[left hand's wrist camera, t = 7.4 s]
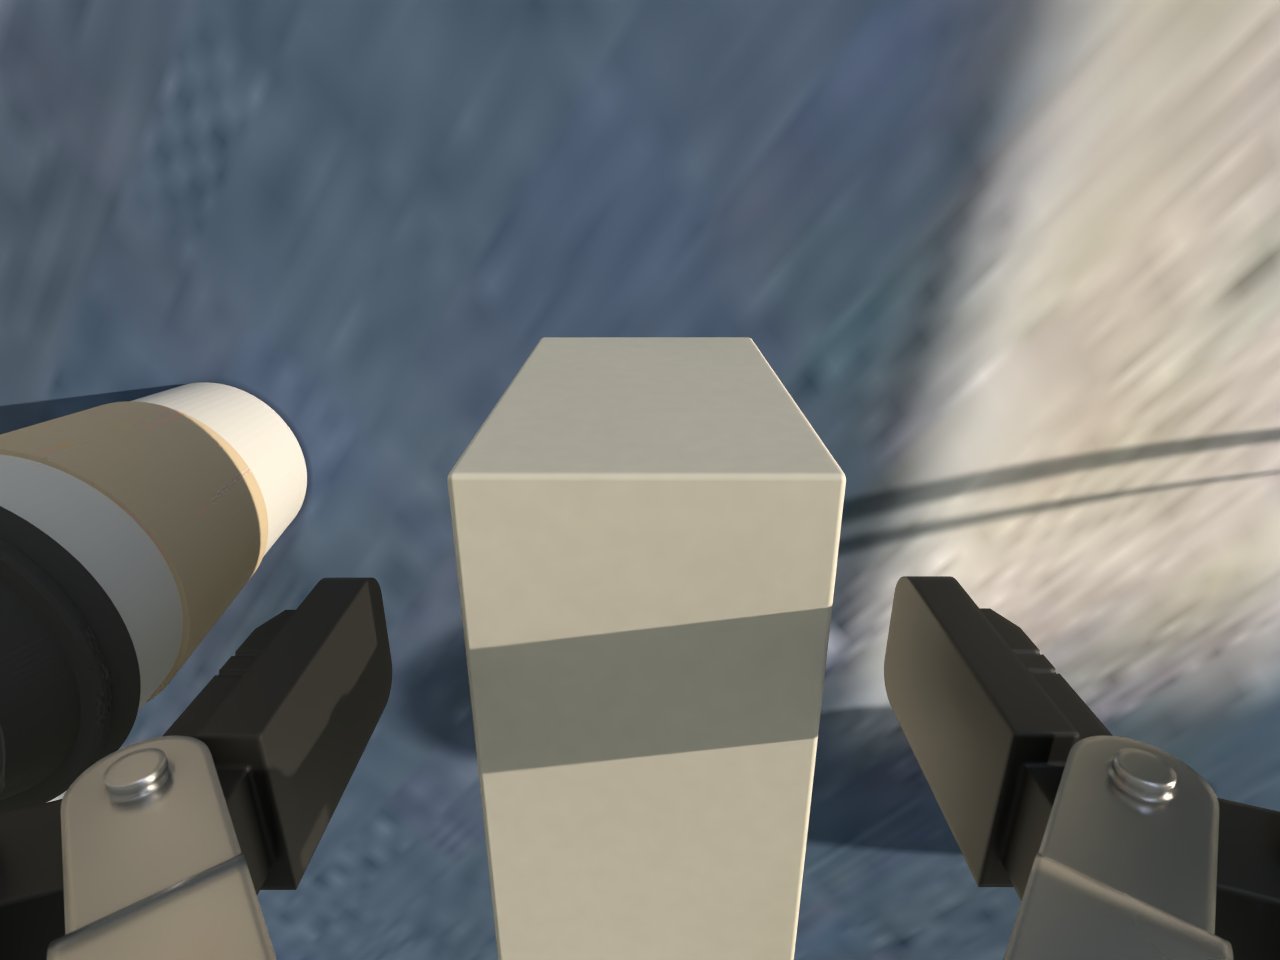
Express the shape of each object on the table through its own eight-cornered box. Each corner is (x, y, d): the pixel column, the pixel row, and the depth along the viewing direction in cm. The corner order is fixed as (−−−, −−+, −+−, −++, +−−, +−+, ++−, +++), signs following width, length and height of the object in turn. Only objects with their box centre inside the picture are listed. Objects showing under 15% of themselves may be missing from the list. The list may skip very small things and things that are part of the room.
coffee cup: (110, 542, 31) (-329, 837, 17) (100, 330, 28) (-455, 480, 14) (328, 584, 32) (79, 900, 18) (343, 382, 28) (52, 575, 14)
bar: (540, 337, 18) (444, 473, 10) (751, 336, 18) (848, 474, 10) (575, 1006, 28) (542, 1385, 19) (715, 1007, 28) (747, 1387, 19)
